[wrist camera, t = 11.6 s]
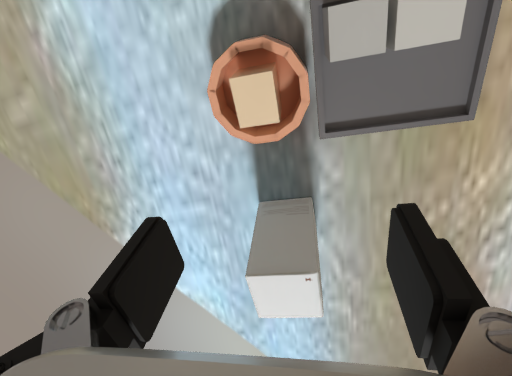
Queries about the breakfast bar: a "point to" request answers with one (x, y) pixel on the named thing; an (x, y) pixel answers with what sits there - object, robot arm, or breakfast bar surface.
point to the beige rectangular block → (256, 95)
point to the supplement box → (285, 260)
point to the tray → (403, 78)
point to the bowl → (289, 80)
